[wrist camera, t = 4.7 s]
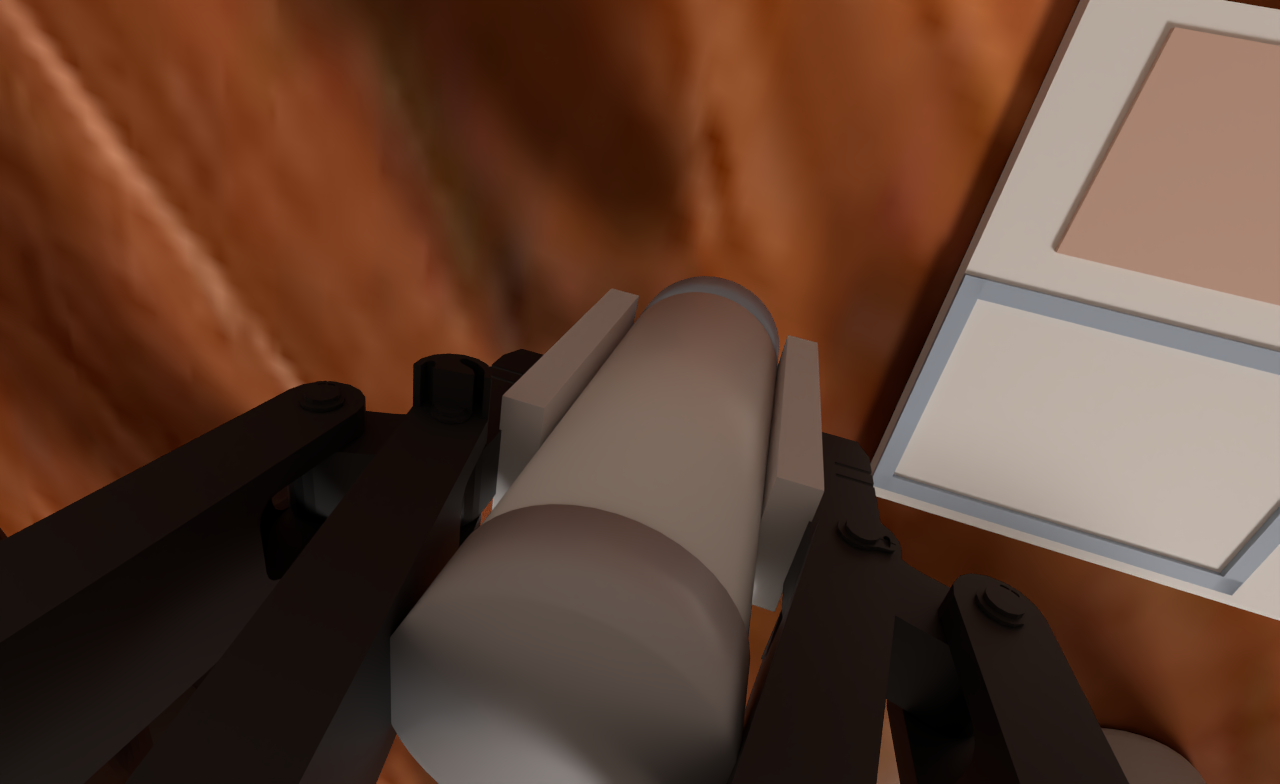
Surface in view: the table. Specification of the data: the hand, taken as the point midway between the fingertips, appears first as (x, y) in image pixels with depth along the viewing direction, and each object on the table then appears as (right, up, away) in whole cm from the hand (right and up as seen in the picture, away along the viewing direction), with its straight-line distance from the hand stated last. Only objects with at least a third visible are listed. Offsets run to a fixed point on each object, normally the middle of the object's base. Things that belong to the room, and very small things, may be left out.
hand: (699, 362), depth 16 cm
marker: (0, +1, +1) cm, 1 cm away
